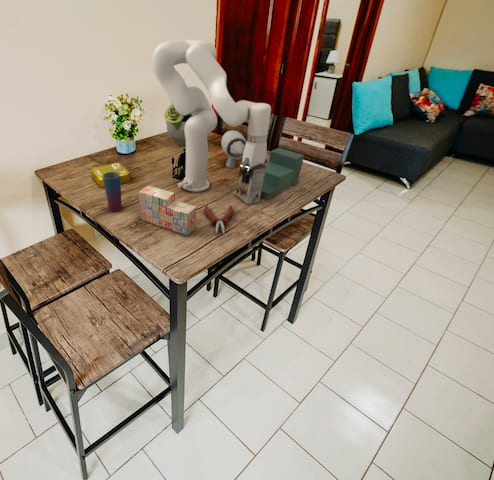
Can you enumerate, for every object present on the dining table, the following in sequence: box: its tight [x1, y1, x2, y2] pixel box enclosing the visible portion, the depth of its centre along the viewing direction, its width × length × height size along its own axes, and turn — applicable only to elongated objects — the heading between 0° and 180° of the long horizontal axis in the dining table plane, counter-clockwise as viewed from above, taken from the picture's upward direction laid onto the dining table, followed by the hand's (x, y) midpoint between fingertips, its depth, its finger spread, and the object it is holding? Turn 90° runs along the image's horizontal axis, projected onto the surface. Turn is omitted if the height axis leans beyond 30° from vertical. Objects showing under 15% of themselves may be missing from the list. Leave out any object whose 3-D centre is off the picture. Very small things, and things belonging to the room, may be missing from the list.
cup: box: [103, 171, 123, 213], centre depth 134 cm, size 7×7×15 cm
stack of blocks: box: [138, 185, 197, 236], centre depth 125 cm, size 21×6×12 cm, turn 56°
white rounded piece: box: [220, 130, 247, 169], centre depth 165 cm, size 15×20×18 cm
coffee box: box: [235, 159, 266, 205], centre depth 139 cm, size 9×6×16 cm
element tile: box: [91, 162, 131, 188], centre depth 160 cm, size 15×15×5 cm
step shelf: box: [260, 147, 305, 201], centre depth 150 cm, size 25×13×13 cm, turn 132°
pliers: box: [203, 204, 234, 236], centre depth 128 cm, size 12×20×3 cm, turn 175°
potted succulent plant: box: [163, 102, 193, 146], centre depth 193 cm, size 25×25×24 cm
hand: (252, 179), depth 139 cm, fingers open, 9 cm apart
